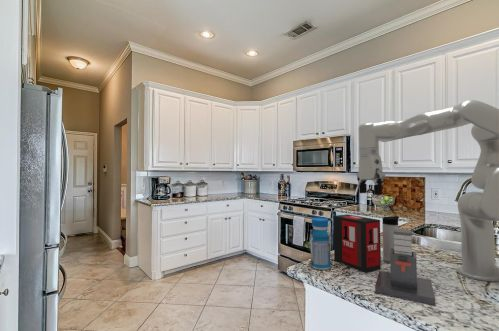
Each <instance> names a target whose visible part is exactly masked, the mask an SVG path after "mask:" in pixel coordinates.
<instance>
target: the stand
mask: <svg viewBox="0 0 499 331" xmlns="http://www.w3.org/2000/svg"><path fill="white" fill-rule="evenodd" d="M389 265H390V267H389V268H390V270H389V271H384V270H378V275H377V278H376V281H375V285H374V293H375V294H380V295H384V296H389V297H394V298H398V299H402V300H408V301H413V302H417V303H420V304H421V303H422V304H425V305H431V306H436V296H435V292H434V287H433V282H432V279H429V278H424V277H418V269H417V267H418V265H417V252H416V251H413V250H412V257H411V256H404V255H397V254H394V249H391V252H390V264H389Z"/></svg>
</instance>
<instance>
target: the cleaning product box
mask: <svg viewBox="0 0 499 331" xmlns="http://www.w3.org/2000/svg"><path fill="white" fill-rule="evenodd" d="M333 247H334V248H333V256H334V260H333V262H337V263H338V264H342V265H345V266H346V267H349V268H352V269H354V270H357V271H359V272H361V273H364V274H369V273H372V272H376V271H377V272H378V271H381V270H382V263H381V262H382V257H381V255H382V252H381V220H380V219H377V218H370V217H365V216H359V215H353V214H348V213H347V214H339V215H333Z"/></svg>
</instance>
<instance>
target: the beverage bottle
mask: <svg viewBox="0 0 499 331" xmlns="http://www.w3.org/2000/svg"><path fill="white" fill-rule="evenodd" d="M311 226H312V227H313V228H312V229H311V231H310V238H309V243H310V266H311V268H313V269H315V270H320V271H326V270H327V271H328V270H330V269H331V267H332V264H331V244H332V243H331V242H332V240H331V239H330V238H331V233H330V231H329V229H328V227H329V219H328V218H326V217H312V218H311Z"/></svg>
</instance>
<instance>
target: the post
mask: <svg viewBox="0 0 499 331" xmlns="http://www.w3.org/2000/svg"><path fill="white" fill-rule="evenodd" d="M393 232H394V254H397V255H404V256H411V257H412V251H413V243H412V240H413V239H412V236H413V235H412V234H413V232H412V229H403V228H399V229H394V231H393Z"/></svg>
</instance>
